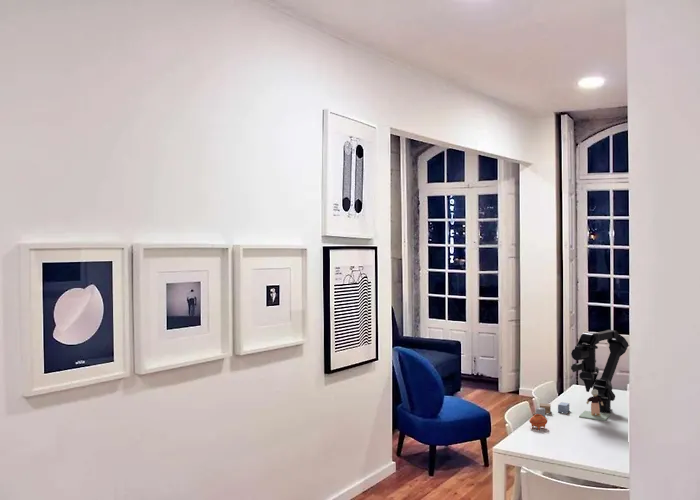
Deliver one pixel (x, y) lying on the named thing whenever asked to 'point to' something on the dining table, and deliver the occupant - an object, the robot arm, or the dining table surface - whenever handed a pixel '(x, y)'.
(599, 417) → the sage mat
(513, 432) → the dining table surface
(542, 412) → the grey capsule
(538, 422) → the pot
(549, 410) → the walnut block
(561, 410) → the slate-blue block
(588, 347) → the robot arm
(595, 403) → the grandmother figurine
